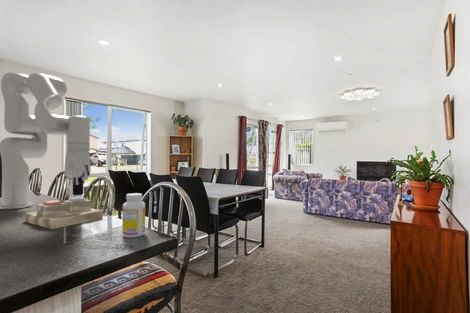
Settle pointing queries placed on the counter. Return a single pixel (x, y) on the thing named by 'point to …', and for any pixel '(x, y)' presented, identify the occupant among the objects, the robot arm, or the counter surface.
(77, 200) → the pale grey key
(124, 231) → the supplement bottle
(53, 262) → the counter surface
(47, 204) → the terracotta key
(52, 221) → the key panel
